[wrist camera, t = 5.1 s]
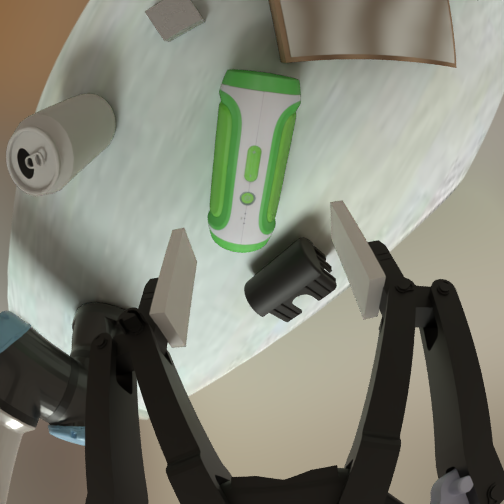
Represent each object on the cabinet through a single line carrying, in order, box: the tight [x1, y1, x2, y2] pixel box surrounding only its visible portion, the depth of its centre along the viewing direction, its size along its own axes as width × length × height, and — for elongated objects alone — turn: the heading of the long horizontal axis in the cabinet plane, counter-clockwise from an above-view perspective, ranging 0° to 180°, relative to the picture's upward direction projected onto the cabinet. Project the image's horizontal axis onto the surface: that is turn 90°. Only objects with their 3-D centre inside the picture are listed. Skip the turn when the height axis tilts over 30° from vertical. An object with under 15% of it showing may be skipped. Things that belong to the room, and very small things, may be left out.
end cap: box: [244, 238, 337, 322], centre depth 37 cm, size 10×7×7 cm
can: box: [6, 93, 116, 196], centre depth 22 cm, size 8×8×12 cm
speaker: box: [208, 69, 301, 253], centre depth 27 cm, size 18×7×8 cm, turn 172°
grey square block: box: [145, 0, 205, 42], centre depth 19 cm, size 4×4×2 cm
